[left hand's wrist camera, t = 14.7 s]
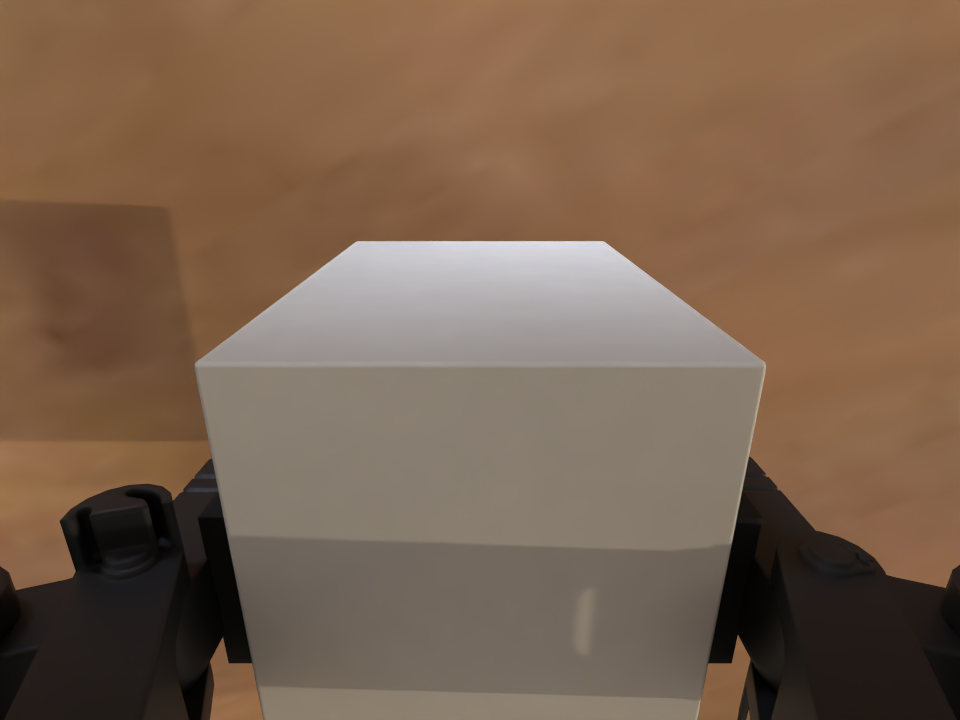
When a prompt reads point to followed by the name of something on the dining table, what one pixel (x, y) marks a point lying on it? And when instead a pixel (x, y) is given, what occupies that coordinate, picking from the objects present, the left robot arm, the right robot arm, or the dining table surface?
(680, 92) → the dining table surface
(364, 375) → the block
